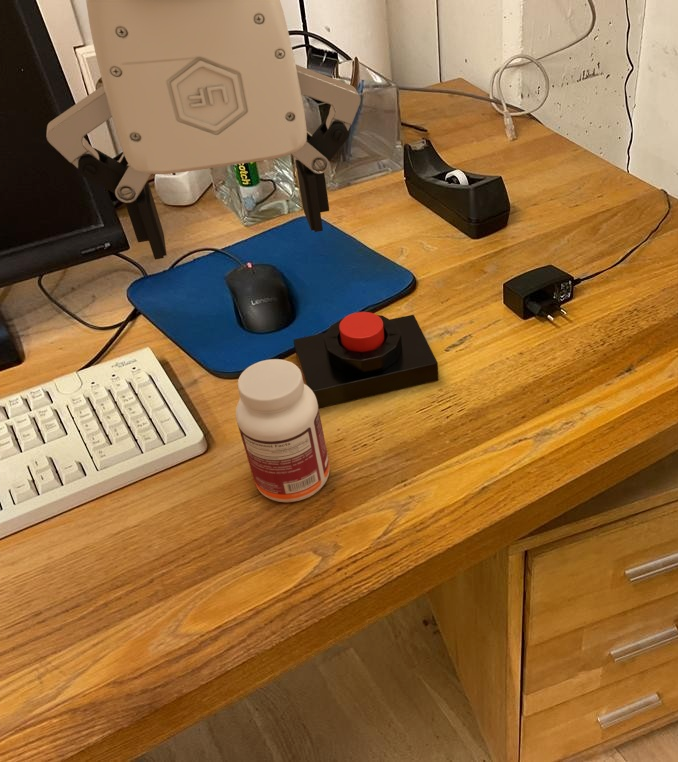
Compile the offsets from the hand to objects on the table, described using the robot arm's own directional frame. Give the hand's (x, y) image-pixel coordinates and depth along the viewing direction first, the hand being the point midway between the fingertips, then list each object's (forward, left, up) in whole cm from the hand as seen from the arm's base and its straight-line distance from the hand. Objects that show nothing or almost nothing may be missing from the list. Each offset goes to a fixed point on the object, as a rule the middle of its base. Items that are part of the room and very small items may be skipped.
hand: (238, 234), depth 52 cm
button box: (+9, +12, -23) cm, 27 cm away
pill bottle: (0, 0, -24) cm, 24 cm away
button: (+9, +11, -20) cm, 25 cm away
